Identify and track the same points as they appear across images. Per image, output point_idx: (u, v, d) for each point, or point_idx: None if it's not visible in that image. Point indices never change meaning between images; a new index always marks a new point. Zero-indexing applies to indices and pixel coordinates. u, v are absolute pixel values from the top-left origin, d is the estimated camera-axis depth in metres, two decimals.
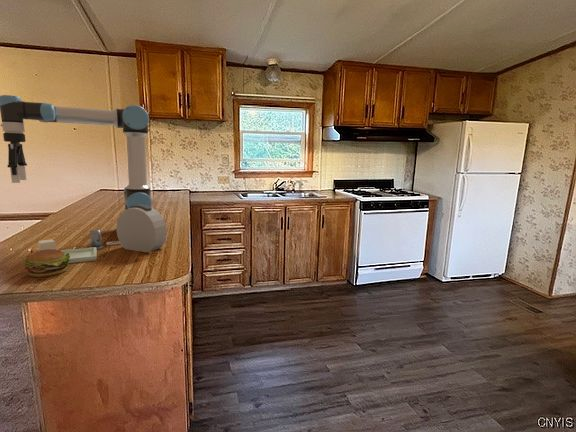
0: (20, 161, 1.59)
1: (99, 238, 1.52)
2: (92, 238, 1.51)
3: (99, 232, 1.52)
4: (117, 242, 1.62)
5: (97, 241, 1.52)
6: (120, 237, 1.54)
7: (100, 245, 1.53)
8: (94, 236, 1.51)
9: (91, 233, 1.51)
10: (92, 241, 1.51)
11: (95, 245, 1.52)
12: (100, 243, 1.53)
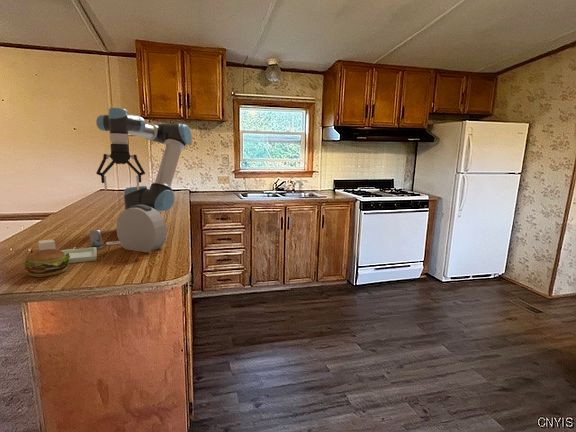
0: None
1: (99, 238, 1.52)
2: (92, 238, 1.51)
3: (99, 232, 1.52)
4: (117, 242, 1.62)
5: (97, 241, 1.52)
6: (120, 237, 1.54)
7: (100, 245, 1.53)
8: (94, 236, 1.51)
9: (91, 233, 1.51)
10: (92, 241, 1.51)
11: (95, 245, 1.52)
12: (100, 243, 1.53)
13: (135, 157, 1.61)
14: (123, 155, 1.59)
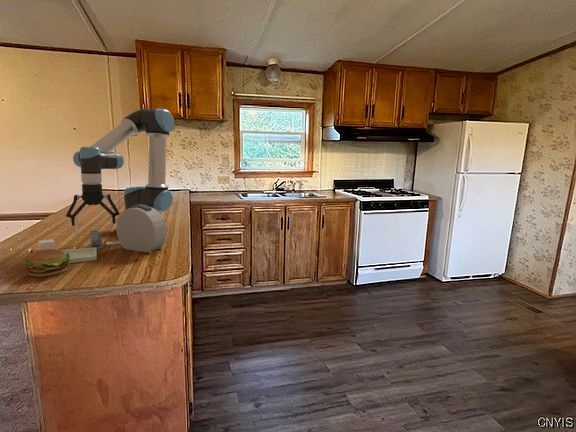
0: None
1: (99, 238, 1.52)
2: (92, 238, 1.51)
3: (99, 232, 1.52)
4: (117, 242, 1.62)
5: (97, 241, 1.52)
6: (120, 237, 1.54)
7: (100, 245, 1.53)
8: (94, 236, 1.51)
9: (91, 233, 1.51)
10: (92, 241, 1.51)
11: (95, 245, 1.52)
12: (100, 243, 1.53)
13: (109, 197, 1.52)
14: (95, 196, 1.49)
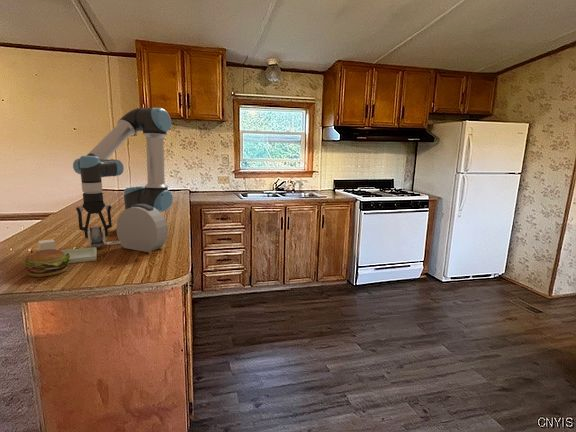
0: None
1: (99, 235, 1.52)
2: (92, 235, 1.51)
3: (99, 229, 1.52)
4: (117, 242, 1.62)
5: (97, 237, 1.52)
6: (120, 235, 1.53)
7: (101, 241, 1.53)
8: (94, 232, 1.51)
9: (91, 230, 1.50)
10: (92, 238, 1.51)
11: (96, 242, 1.52)
12: (101, 239, 1.53)
13: (109, 208, 1.53)
14: (98, 204, 1.50)
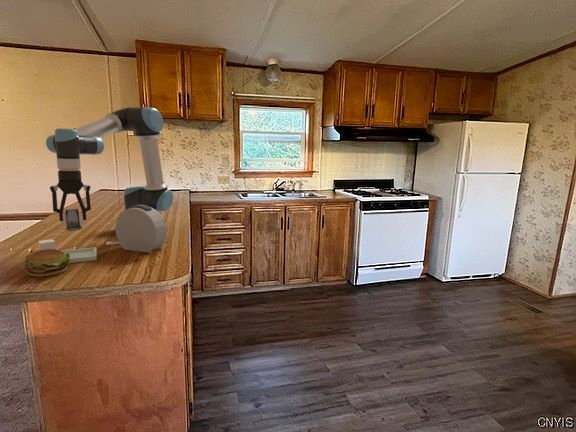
0: (80, 205, 1.37)
1: (76, 218, 1.36)
2: (68, 218, 1.35)
3: (76, 211, 1.36)
4: (117, 242, 1.62)
5: (74, 221, 1.35)
6: (120, 237, 1.53)
7: (78, 226, 1.37)
8: (70, 215, 1.35)
9: (67, 212, 1.34)
10: (68, 221, 1.35)
11: (72, 225, 1.35)
12: (78, 223, 1.37)
13: (87, 189, 1.37)
14: (75, 184, 1.35)
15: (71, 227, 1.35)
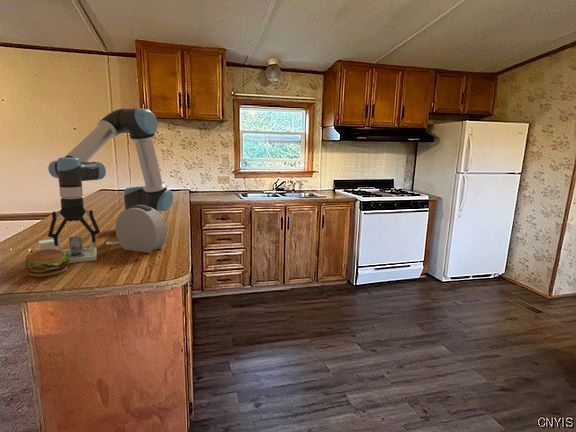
0: (88, 229, 1.40)
1: (79, 245, 1.38)
2: (71, 245, 1.37)
3: (79, 239, 1.38)
4: (117, 242, 1.62)
5: (77, 248, 1.38)
6: (120, 237, 1.53)
7: (80, 253, 1.39)
8: (74, 243, 1.37)
9: (70, 240, 1.37)
10: (71, 249, 1.37)
11: (75, 253, 1.38)
12: (80, 251, 1.39)
13: (91, 213, 1.39)
14: (77, 211, 1.36)
15: (74, 254, 1.38)
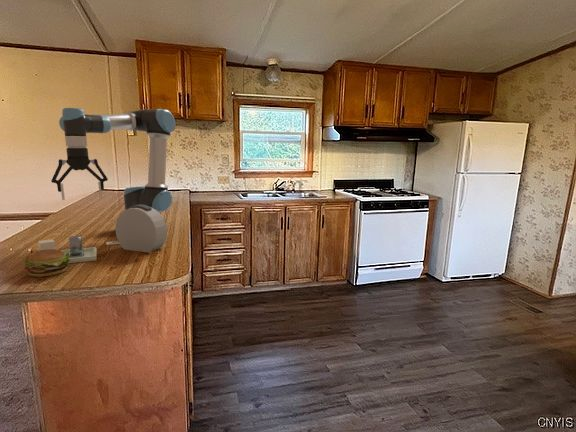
0: (96, 177, 1.48)
1: (79, 245, 1.38)
2: (71, 245, 1.37)
3: (79, 239, 1.38)
4: (117, 242, 1.62)
5: (77, 248, 1.38)
6: (120, 237, 1.53)
7: (80, 253, 1.39)
8: (74, 243, 1.37)
9: (70, 240, 1.37)
10: (71, 249, 1.37)
11: (75, 253, 1.38)
12: (80, 251, 1.39)
13: (95, 162, 1.46)
14: (81, 160, 1.43)
15: (74, 254, 1.38)
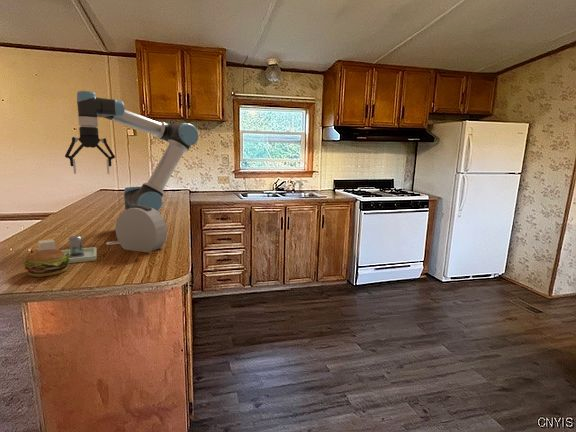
0: None
1: (79, 245, 1.38)
2: (71, 245, 1.37)
3: (79, 239, 1.38)
4: (117, 242, 1.62)
5: (77, 248, 1.38)
6: (120, 237, 1.53)
7: (80, 253, 1.39)
8: (74, 243, 1.37)
9: (70, 240, 1.37)
10: (71, 249, 1.37)
11: (75, 253, 1.38)
12: (80, 251, 1.39)
13: (105, 141, 1.62)
14: (92, 138, 1.59)
15: (74, 254, 1.38)
